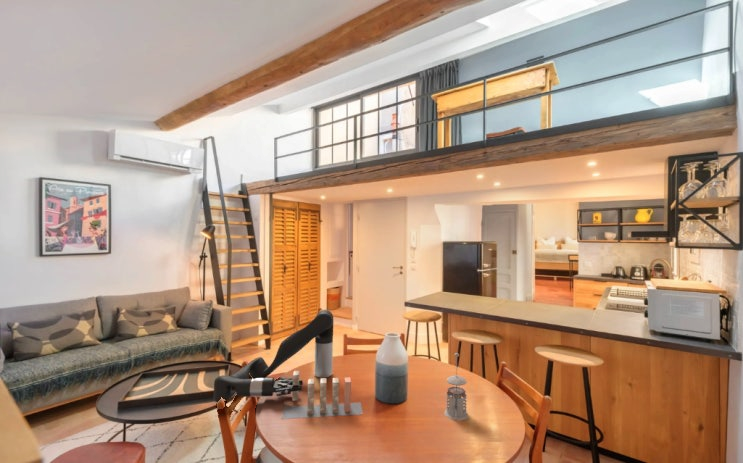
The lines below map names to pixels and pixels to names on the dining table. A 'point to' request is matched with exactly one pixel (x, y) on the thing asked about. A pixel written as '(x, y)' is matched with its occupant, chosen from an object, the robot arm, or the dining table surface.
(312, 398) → the domino
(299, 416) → the domino board
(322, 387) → the domino
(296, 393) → the domino
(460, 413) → the french press
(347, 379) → the end domino
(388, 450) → the dining table surface
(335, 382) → the domino
